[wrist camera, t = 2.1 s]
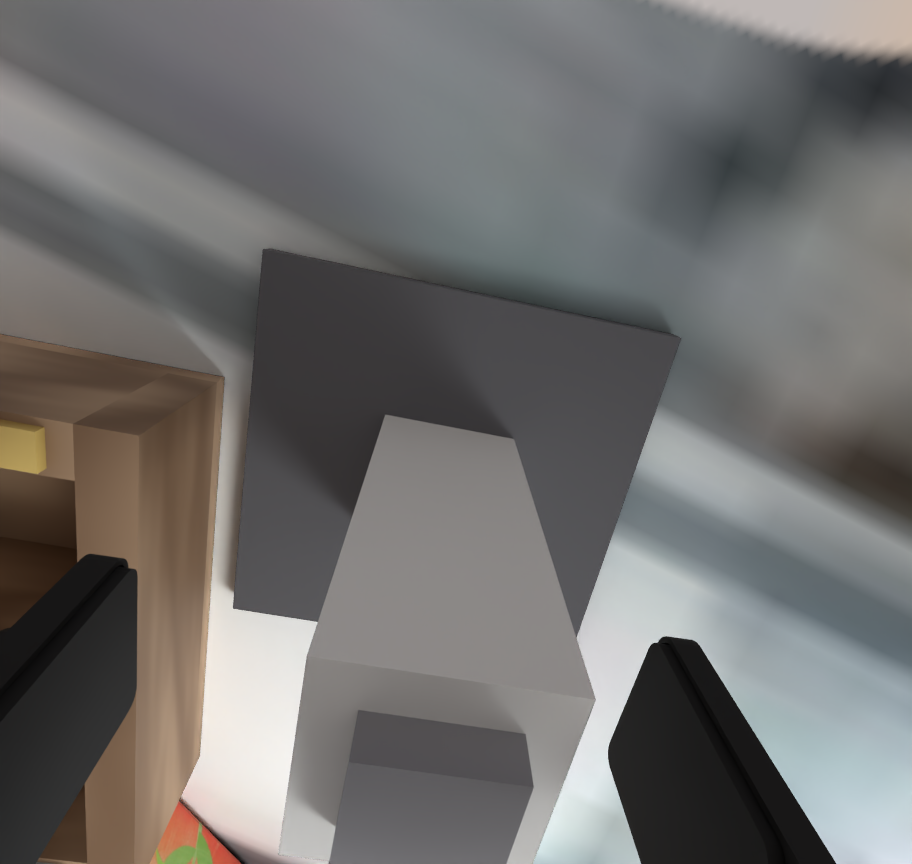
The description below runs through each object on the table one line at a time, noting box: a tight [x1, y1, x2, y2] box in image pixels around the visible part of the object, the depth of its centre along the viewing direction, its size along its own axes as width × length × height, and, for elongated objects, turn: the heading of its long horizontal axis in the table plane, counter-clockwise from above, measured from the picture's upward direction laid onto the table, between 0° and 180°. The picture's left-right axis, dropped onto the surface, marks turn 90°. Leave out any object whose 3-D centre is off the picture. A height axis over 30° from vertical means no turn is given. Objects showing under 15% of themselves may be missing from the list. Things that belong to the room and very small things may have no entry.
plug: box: [278, 415, 596, 864], centre depth 13 cm, size 4×4×11 cm
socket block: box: [0, 334, 225, 864], centre depth 17 cm, size 8×16×5 cm, turn 168°
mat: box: [233, 249, 681, 637], centre depth 18 cm, size 12×12×1 cm
